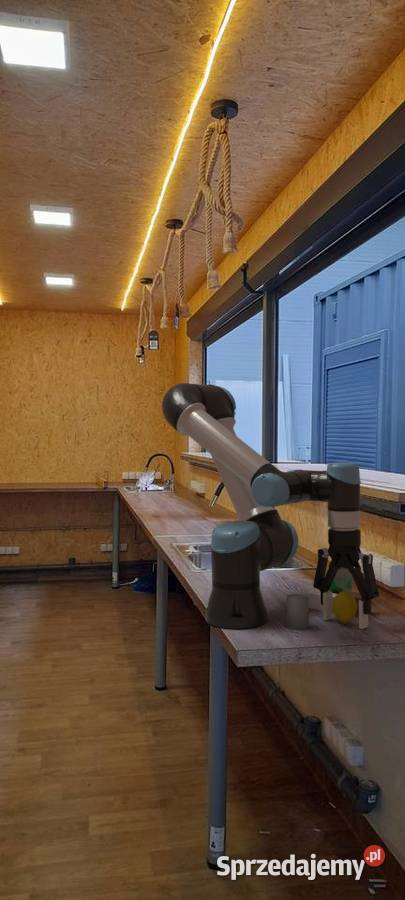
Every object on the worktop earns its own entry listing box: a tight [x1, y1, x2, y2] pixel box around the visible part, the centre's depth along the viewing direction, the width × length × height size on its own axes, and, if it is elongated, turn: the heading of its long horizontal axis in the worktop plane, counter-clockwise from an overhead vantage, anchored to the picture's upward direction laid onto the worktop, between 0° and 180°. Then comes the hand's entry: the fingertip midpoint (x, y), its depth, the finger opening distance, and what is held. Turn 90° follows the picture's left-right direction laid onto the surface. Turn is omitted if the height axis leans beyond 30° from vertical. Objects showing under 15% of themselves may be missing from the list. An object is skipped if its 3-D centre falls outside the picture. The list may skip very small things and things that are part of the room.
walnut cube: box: [347, 591, 362, 618], centre depth 158 cm, size 5×5×5 cm
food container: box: [329, 567, 355, 594], centre depth 168 cm, size 12×6×10 cm, turn 163°
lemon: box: [333, 590, 357, 625], centre depth 149 cm, size 6×6×8 cm
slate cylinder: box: [286, 593, 310, 631], centre depth 148 cm, size 5×5×7 cm
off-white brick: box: [305, 589, 337, 614], centre depth 163 cm, size 4×8×4 cm, turn 45°
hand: (345, 623), depth 149 cm, fingers open, 9 cm apart
